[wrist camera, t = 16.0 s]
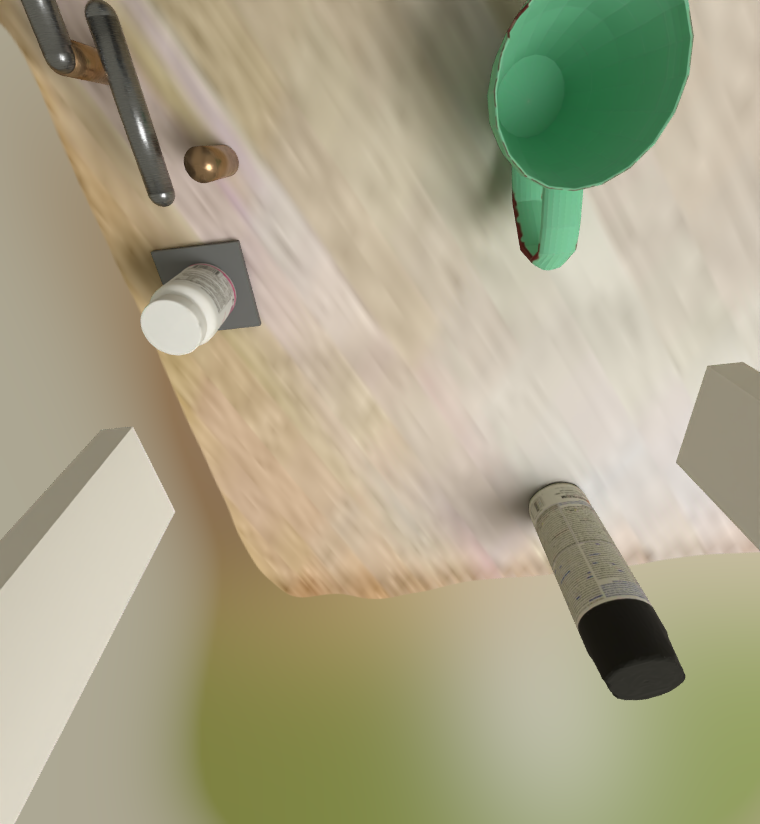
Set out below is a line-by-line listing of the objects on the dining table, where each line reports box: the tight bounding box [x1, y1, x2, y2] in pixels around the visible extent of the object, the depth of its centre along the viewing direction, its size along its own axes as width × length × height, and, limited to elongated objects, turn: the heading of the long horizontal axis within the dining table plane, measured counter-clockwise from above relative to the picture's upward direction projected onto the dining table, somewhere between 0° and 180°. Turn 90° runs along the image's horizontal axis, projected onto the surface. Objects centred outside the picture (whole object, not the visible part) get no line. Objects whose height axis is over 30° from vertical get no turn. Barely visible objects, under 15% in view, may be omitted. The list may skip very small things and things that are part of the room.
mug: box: [487, 0, 694, 270], centre depth 27 cm, size 15×10×10 cm
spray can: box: [529, 483, 685, 700], centre depth 43 cm, size 7×7×20 cm
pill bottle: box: [141, 263, 236, 355], centre depth 33 cm, size 5×5×8 cm
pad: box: [151, 241, 261, 331], centre depth 37 cm, size 7×7×1 cm
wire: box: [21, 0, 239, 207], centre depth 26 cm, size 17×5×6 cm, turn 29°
